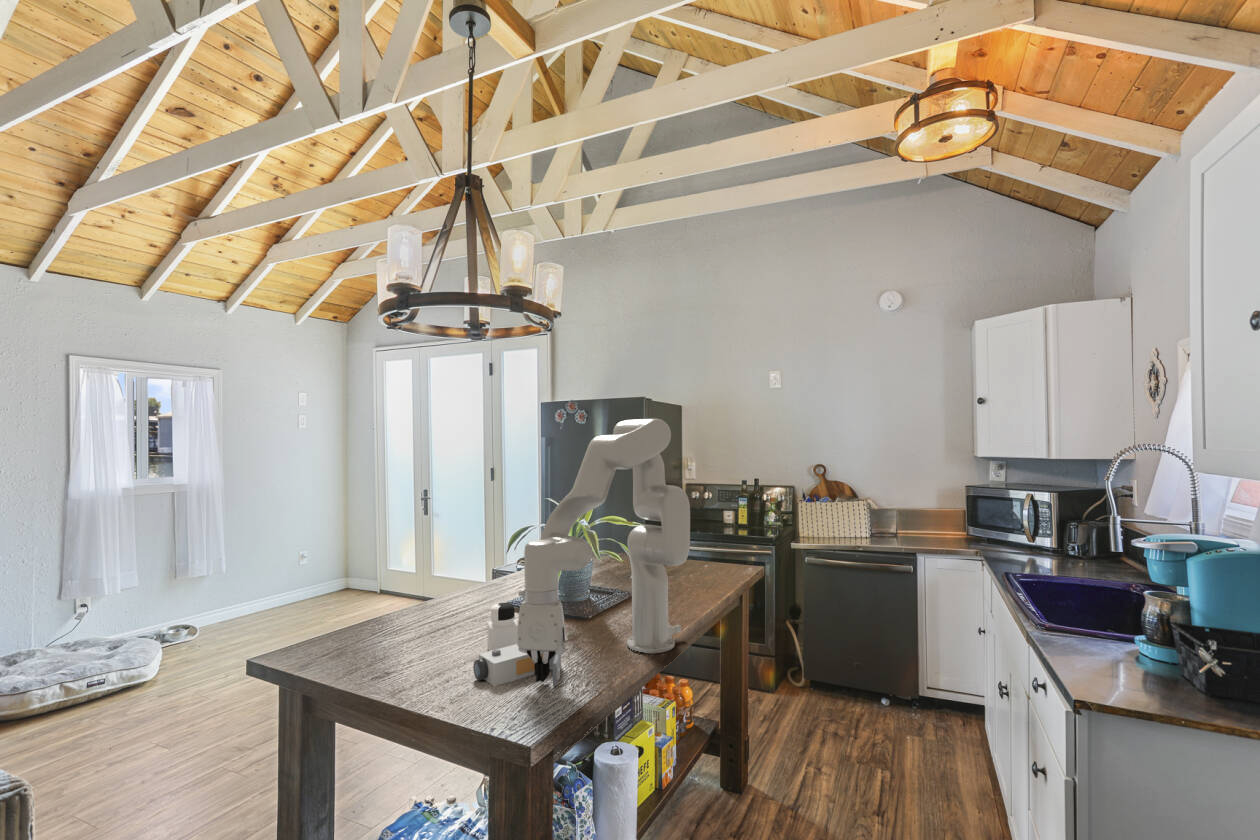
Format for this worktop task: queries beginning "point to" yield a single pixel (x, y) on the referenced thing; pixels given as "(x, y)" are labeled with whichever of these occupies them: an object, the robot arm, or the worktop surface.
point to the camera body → (505, 665)
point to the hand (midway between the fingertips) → (542, 679)
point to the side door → (556, 669)
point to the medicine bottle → (502, 626)
